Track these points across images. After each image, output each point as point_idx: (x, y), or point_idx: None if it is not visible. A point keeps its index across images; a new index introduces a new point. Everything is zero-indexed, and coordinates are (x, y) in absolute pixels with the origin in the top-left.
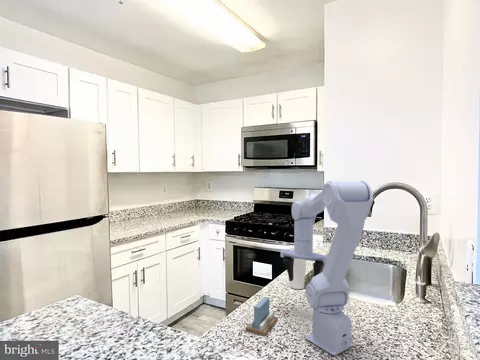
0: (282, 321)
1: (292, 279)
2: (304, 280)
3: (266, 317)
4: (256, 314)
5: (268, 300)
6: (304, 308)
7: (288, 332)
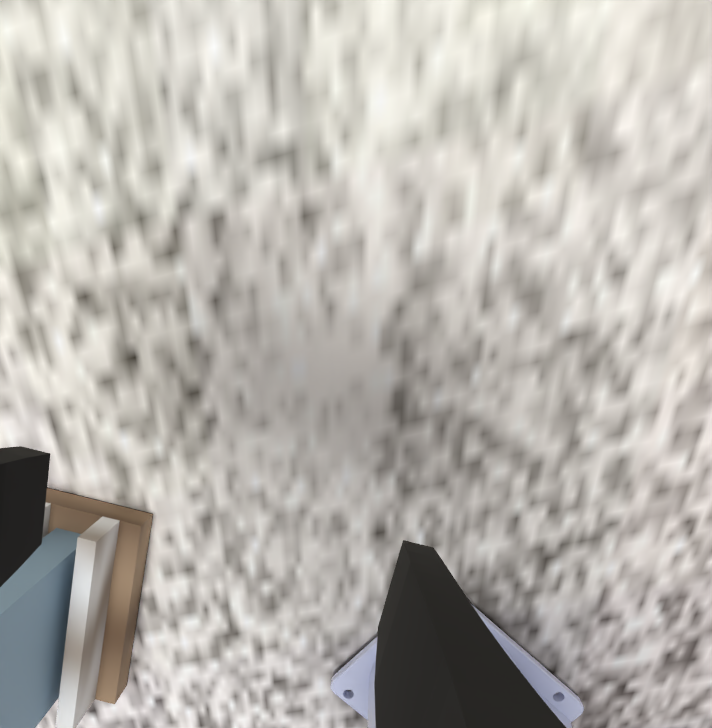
0: (184, 515)
1: (36, 498)
2: None
3: (67, 634)
4: None
5: None
6: (315, 281)
7: (236, 628)
